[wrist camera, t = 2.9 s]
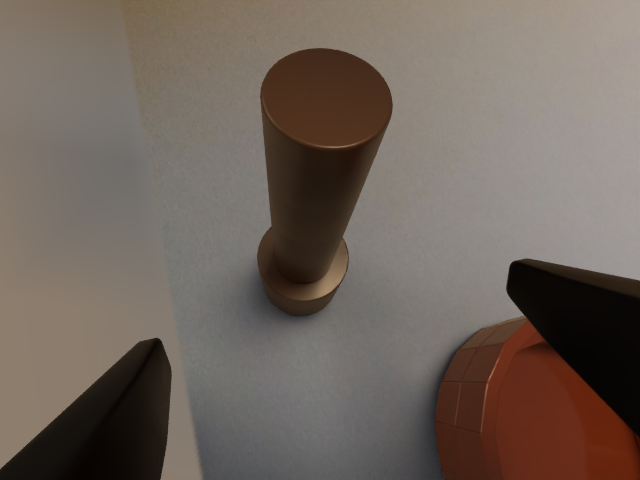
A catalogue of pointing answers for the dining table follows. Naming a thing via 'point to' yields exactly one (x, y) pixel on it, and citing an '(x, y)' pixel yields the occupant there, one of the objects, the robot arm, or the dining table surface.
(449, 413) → the bowl
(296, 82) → the pestle
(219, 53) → the dining table surface
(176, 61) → the dining table surface
